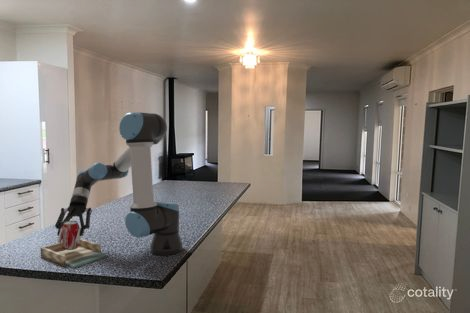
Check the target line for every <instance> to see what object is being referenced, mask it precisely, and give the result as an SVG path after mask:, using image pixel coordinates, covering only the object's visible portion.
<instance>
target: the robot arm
mask: <svg viewBox="0 0 470 313" xmlns="http://www.w3.org/2000/svg"><path fill="white" fill-rule="evenodd" d="M167 130H168V126H167V122H166V120H165V118H163V117H162V115H160V114H158V113H155V112H154V113H152V112H151V113H150V112H149V113H148V112H140V111H133V112H132V111H130V112H127V113H126V114H124V115H123V117H122V118H121V120H120V121H119V128H118V131H119V135H120V136H121V137H122V138H123V140H125V143H126V146H127V147H128V148H126V150H125V151H124V152H123V153H122V154H121V155H120V156H119V157H117V159H116V160H115V161H114V162H113V163H112V164H104V163H101V162H96V163H94V164H92V165H91V166H90V167H89V168H87V169H84V170H80V171H79V172H78V174H77V177H76V180H75V184H74V188H73V192H72V194H71V198H70V201H69V205H68V207H67V208H64V207H61V209H60V213H59V216H58V218H57V220H56V221H55V224H54V227H55V228H56V230H57V233H56V234H57V236H58V237H57V239H56V240H57V241H56V242H57V243H59V244H61V242H62V227H63V225H64V222H67V221H71V220H72V218H74V217H78V218H79V223H80V224H79V225H80V226H79V230H78V233H77V237H76V242H77V243H79V241H80V239H81V237H83V236H84V234H85V230H86V229H90V226H91V215H92V213H93V210H92V207H88V208H87V206H88V202H89V201H88V200H89V198H90V193H91V189H92V187H93V186H94V185H95V184H97V183H98V182H102V181H109V180H117V179H122V178H126V177H127V176H128V174H129V169H130V170H131V184H132V199H133V201H132V202H133V203H131V204H130V206H129V212H128V213H127V214H126V216H125V219H124V222H125V228H126V229H127V232H129V234H130V236H132V237H134V238H140V239H141V238H145V237H148V236H150V235H153V236H152V239H151V240H152V241H151V244H150V245H149V246H150V247H149V248H150V249H149V250H150V253H151V254H153V255H157V256H170V255H175V254H178V253H180V252H182V251H183V243H182V240H181V236H180V233H179V232H180V229H179V228H180V208H179V204H178V203H176V202H172V201H162V200H161V201H159V200H158V201H154V187H153V186H154V184H153V168H152V155H151V154H152V152H151V150H152V149H151V148H152V147H153V146H154V145H157V144H159V143H160V142H161V141H162V140H163V138H164V137H165V136H166V134H167ZM85 212H86V217H85V221H84V217H83V216H84V213H85ZM84 222H85V223H84Z"/></svg>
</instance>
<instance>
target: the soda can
mask: <svg viewBox="0 0 470 313" xmlns="http://www.w3.org/2000/svg"><path fill="white" fill-rule="evenodd" d="M79 227H80V224H79V223H78V220H70V221H67V222H64V225H63V227H62V241H61V242H62V243H63V248H64V249H65V250H74V249H77V248H78V247H79V244H80V241H79V243H77V242H76V237H77V233H78V230H79Z"/></svg>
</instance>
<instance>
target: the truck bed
mask: <svg viewBox="0 0 470 313" xmlns="http://www.w3.org/2000/svg"><path fill="white" fill-rule="evenodd" d="M40 258H44V259H46V260H48V261H51V262H53V263H55V264H58V265H61V266H66V267H67V266H68V267H70V268H73V269H75V268H76V269H77V268H78V267H81V266H84V265H86V264H90V263H93V262H96V261H99V260H102V259H104V258H108V254H106V253H104V252H102V245H101V243H96V242H93V241H90V240H86V239H83V238H80V244H79V247H78V248H77V249H74V250H65V249H64V248H63V243H62V241H61V244H59V243H58V242H57V243H54V244H49V245H46V246H42V247H40Z"/></svg>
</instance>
